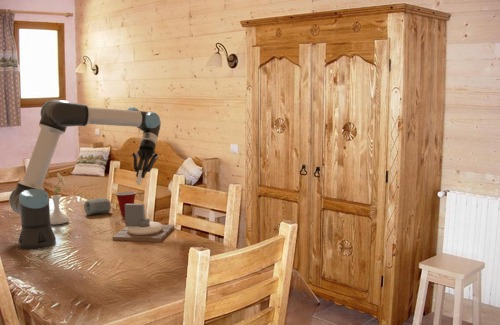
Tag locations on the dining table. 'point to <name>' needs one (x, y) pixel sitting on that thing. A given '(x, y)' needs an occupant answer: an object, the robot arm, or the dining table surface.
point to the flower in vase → (57, 215)
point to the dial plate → (151, 237)
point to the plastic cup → (125, 200)
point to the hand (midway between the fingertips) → (138, 182)
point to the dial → (139, 221)
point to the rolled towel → (97, 206)
